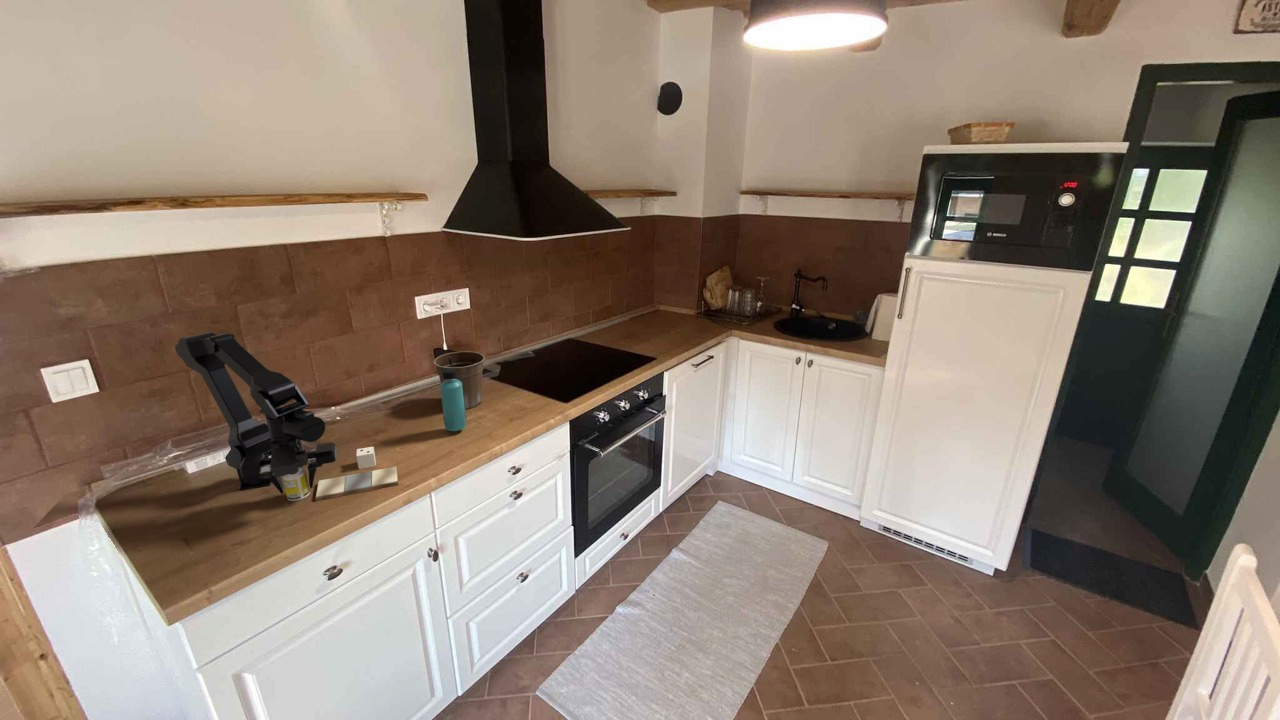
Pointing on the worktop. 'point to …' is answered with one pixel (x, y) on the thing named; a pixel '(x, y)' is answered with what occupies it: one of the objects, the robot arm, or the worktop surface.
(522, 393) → the worktop surface
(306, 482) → the supplement bottle
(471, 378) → the plant pot
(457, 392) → the beverage bottle
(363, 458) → the die
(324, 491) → the board
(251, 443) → the robot arm
